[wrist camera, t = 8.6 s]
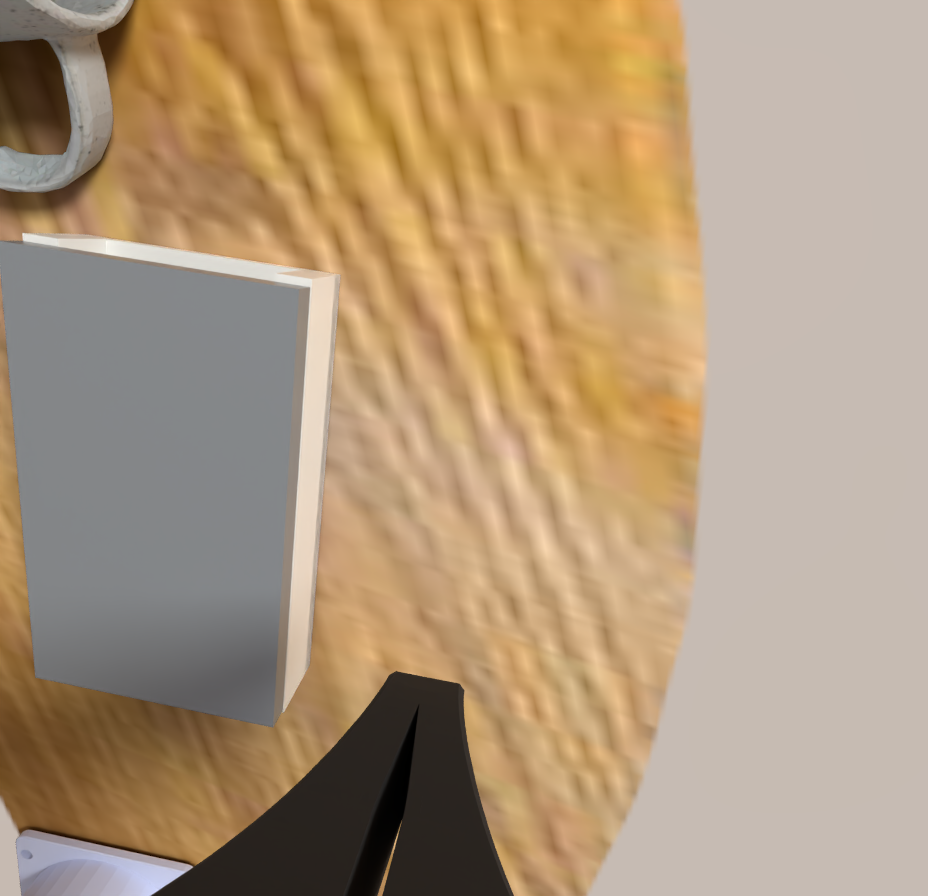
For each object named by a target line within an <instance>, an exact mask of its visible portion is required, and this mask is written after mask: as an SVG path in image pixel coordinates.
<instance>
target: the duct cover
mask: <svg viewBox="0 0 928 896" xmlns="http://www.w3.org/2000/svg"><path fill="white" fill-rule="evenodd" d="M0 274H1V285H2V297H3V308H4V320H5V331H6V343H7V355H8V366H9V378H10V389H11V401H12V412H13V424H14V436H15V447H16V459H17V470H18V482H19V493H20V505H21V516H22V528H23V540H24V551H25V563H26V574H27V586H28V597H29V609H30V621H31V632H32V644H33V655H34V667H35V678H40V679H45V680H50V681H54V682H59V683H64V684H69V685H73V686H78V687H83V688H88V689H93V690H97V691H102V692H107V693H112V694H116V695H121V696H126V697H131V698H135V699H140V700H145V701H150V702H154V703H159V704H164V705H169V706H173V707H178V708H183V709H188V710H192V711H197V712H202V713H207V714H211V715H216V716H221V717H226V718H230V719H235V720H240V721H245V722H249V723H254V724H259V725H264V726H269V727H274V725H275V723H276V721H277V720H278V718H279V716H280V714H281V712H282V711H283V700H284V685H285V669H286V654H287V639H288V623H289V608H290V592H291V577H292V561H293V546H294V531H295V515H296V500H297V484H298V469H299V453H300V438H301V423H302V407H303V392H304V376H305V361H306V345H307V330H308V315H309V299H310V287H306V286H300V285H294V284H287V283H281V282H275V281H269V280H262V279H256V278H250V277H244V276H238V275H231V274H225V273H219V272H213V271H207V270H200V269H194V268H188V267H182V266H175V265H169V264H163V263H157V262H151V261H144V260H138V259H132V258H126V257H120V256H113V255H107V254H101V253H95V252H88V251H82V250H76V249H70V248H64V247H57V246H51V245H45V244H39V243H33V242H26V241H0Z"/></svg>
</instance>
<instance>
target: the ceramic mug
mask: <svg viewBox="0 0 928 896" xmlns="http://www.w3.org/2000/svg"><path fill="white" fill-rule="evenodd" d="M133 1H134V0H0V42H5V41H8V42H9V41H15V40H34V39H44V40H47V41H48V42H49V44H50V45H51V47H52V48H53V50H54V52H55V53H56V55H57V57H58V59H59V61H60V65H61V69H62V73H63V78H64V86H65V90H66V94H67V98H68V104H69V110H70V118H71V127H72V131H71V136H70V140H69V144H68V147H67V151H66V152H64V154H63V155H35V154H28V153H22V152H17V151H15V150H13V149H11V148H9V147H7V146H1V147H0V189H3V190H7V191H13V192H41V193H44V192H48V191H52V190H56V189H60V188H64V187H65V186H67V185H69V184H70V183H71V182H73V181H74V180H76V179H77V178H79V177H80V176H82V175H83V174H85V173H86V172H87V171H89V170H90V169H91V168H92V167H94V166H95V165H96V164H97V163H98V162H99V161H100V160H101V158H102V156H103V154H104V151H105V149H106V147H107V145H108V143H109V140H110V138H111V132H112V126H113V104H112V99H111V93H110V88H109V82H108V77H107V72H106V66H105V62H104V59H103V55H102V52H101V49H100V46H99V42H98V37H97V33H100V32H103V31H105V30H107V29H109V28H111V27H113V26H115V25H116V24H118V23H119V22H120V21H121V20H122V19H123V18H124V16H125V15H126V14H127V12H128V11H129V9H130V8H131V6H132V4H133Z"/></svg>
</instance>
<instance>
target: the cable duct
mask: <svg viewBox="0 0 928 896" xmlns="http://www.w3.org/2000/svg"><path fill="white" fill-rule="evenodd" d="M23 241H26V242H33V243H39V244H45V245H51V246H57V247H64V248H70V249H76V250H82V251H88V252H95V253H101V254H107V255H113V256H120V257H126V258H132V259H138V260H144V261H151V262H157V263H163V264H169V265H175V266H182V267H188V268H194V269H200V270H207V271H213V272H219V273H225V274H231V275H238V276H244V277H250V278H256V279H262V280H269V281H275V282H281V283H287V284H294V285H300V286H306V287H310V299H309V315H308V330H307V345H306V361H305V376H304V392H303V407H302V423H301V438H300V453H299V469H298V484H297V500H296V515H295V531H294V546H293V561H292V577H291V592H290V608H289V623H288V639H287V654H286V669H285V685H284V700H283V711H282V712H283V713H284V711H285V709H286V708H287V706H288V704H289V702H290V700H291V698H292V697H293V695H294V693H295V691H296V689H297V687H298V686H299V684H300V682H301V680H302V678H303V676H304V675H305V673H306V671H307V669H308V667H309V665H310V653H311V641H312V628H313V615H314V603H315V590H316V577H317V565H318V552H319V540H320V527H321V514H322V502H323V489H324V476H325V464H326V451H327V438H328V426H329V413H330V401H331V388H332V375H333V363H334V350H335V337H336V325H337V312H338V299H339V287H340V274H334V273H327V272H321V271H315V270H308V269H302V268H296V267H290V266H283V265H277V264H271V263H264V262H258V261H252V260H245V259H239V258H233V257H226V256H220V255H214V254H207V253H201V252H195V251H188V250H182V249H176V248H170V247H163V246H157V245H151V244H144V243H138V242H132V241H125V240H119V239H113V238H106V237H100V236H94V235H87V234H49V233H23Z"/></svg>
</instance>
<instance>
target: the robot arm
mask: <svg viewBox="0 0 928 896" xmlns="http://www.w3.org/2000/svg"><path fill="white" fill-rule="evenodd" d="M401 821H402V823H401ZM400 824H401V827H400ZM399 827H400V831H399V835H398V839H397V842H396V846H395V850H394V854H393V858H392V862H391V865H390V869H389V873H388V877H387V880H386V884H385V888H384V892H383V895H382V896H514V895H513V893H512V890H511V888H510V885H509V883H508V880H507V878H506V875H505V873H504V870H503V867H502V865H501V862H500V859H499V857H498V854H497V851H496V848H495V846H494V843H493V840H492V837H491V834H490V830H489V827H488V824H487V821H486V817H485V814H484V811H483V807H482V804H481V800H480V797H479V793H478V789H477V785H476V781H475V776H474V772H473V767H472V763H471V758H470V753H469V748H468V742H467V735H466V728H465V720H464V689H463V688H462V687H461V685H460V684H458V683H453V682H448V681H442V680H437V679H432V678H427V677H422V676H417V675H412V674H407V673H402V672H397V671H396V672H394V673H392V674H391V675H389V677H388V678H387V680H386V682H385V683H384V685H383V686H382V688H381V689H380V691H379V692H378V693H377V695H376V696H375V698H374V699H373V700H372V702H371V703H370V704H369V706H368V707H367V708H366V709H365V711H364V712H363V713H362V714H361V716H360V717H359V718H358V719H357V721H356V722H355V723H354V724H353V725H352V726H351V727H350V729H349V730H348V731H347V732H346V733H345V734H344V736H343V737H342V738H341V739H340V740H339V741H338V743H337V744H336V745H335V746H334V747H333V748H332V749H331V750H330V751H329V752H328V753H327V754H326V755H325V756H324V757H323V758H322V759H321V760H320V761H319V762H318V764H317V765H316V766H315V767H314V768H313V769H312V770H311V771H310V772H309V773H308V774H307V775H306V776H305V777H304V778H303V779H302V780H301V781H300V782H299V783H298V784H296V785H295V786H294V787H293V788H292V789H291V790H290V791H289V792H288V793H287V794H286V795H285V796H284V797H282V798H281V799H280V800H279V801H278V802H277V803H276V804H274V805H273V806H272V807H271V808H270V809H269V810H268V811H266V812H265V813H264V814H263V815H262V816H261V817H259V818H258V819H257V820H256V821H254V822H253V823H252V824H251V825H249V826H248V827H247V828H246V829H244V830H243V831H242V832H240V833H239V834H238V835H237V836H235V837H234V838H233V839H232V840H230V841H229V842H228V843H226V844H225V845H224V846H222V847H221V848H220V849H218V850H217V851H216V852H214V853H213V854H212V855H210V856H209V857H207V858H206V859H205V860H203V861H202V862H200V863H199V864H197V865H196V866H194V867H193V866H191V865H189V864H185V863H180V862H176V861H171V860H167V859H162V858H157V857H153V856H148V855H144V854H139V853H135V852H130V851H126V850H121V849H117V848H112V847H108V846H103V845H98V844H94V843H89V842H85V841H80V840H76V839H71V838H67V837H62V836H58V835H53V834H48V833H44V832H39V831H35V830H25V831H23V832H22V833H21V834H20V836H19V837H18V838H17V839H16V849H17V859H18V868H19V877H20V886H21V895H22V896H377V895H378V892H379V889H380V886H381V883H382V880H383V876H384V873H385V870H386V867H387V864H388V861H389V858H390V855H391V852H392V849H393V846H394V842H395V839H396V836H397V833H398V830H399Z"/></svg>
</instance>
